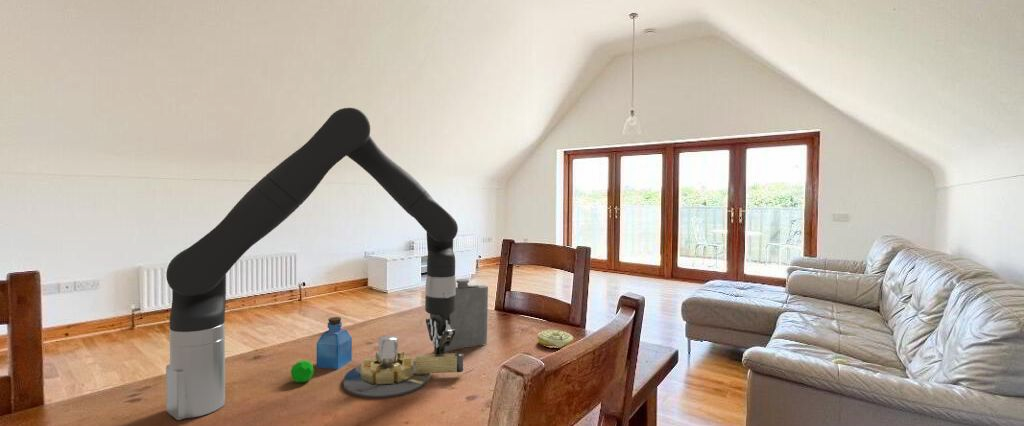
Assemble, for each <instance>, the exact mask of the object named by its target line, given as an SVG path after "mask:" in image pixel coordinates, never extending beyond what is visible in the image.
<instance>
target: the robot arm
mask: <svg viewBox="0 0 1024 426" xmlns="http://www.w3.org/2000/svg"><path fill="white" fill-rule="evenodd" d="M370 134H371V124H370V121H369V118H368V116H367V115H366V114H365V112H363V111H362V110H360V109H358V108H354V107H344V108H339V109H337V110H336V111H334V112H333V113H332V114H331V115H330V116H329V117H328V118H327V120H325V122H324V123H323V125H322V126H321V127H319V129H318V130H317V131H316V132H315V133H314V134H313V135H312V136H311V138H310V139H308V141H306V143H305V144H304V145H302V146H301V147H300V148H298V149H297V150H295V151H294V152H293V153H292V154H291V155H289V156H288V157H286V158H285V159H284V160H282V161H281V162H280V163H279V164H278V165H276V166H275V167H274V168H272V170H271V171H268V173H266V174H265V175H264V176H263V177H262V178H261V179H260V180H259V181H258V182H257V183H255V184H254V185H253V186H252V187H251V188H250V189H249V190H248V192H246V193H245V194H244V195H243V196H242V197H241V198H240V199H239V201H237V202H236V204H235V205H234V206H233V207H232V208H231V210H230V211H229V212H228V213H227V215H225V217H224V218H223V219H222V220H221V221H220V223H218V224H217V225H216V226H215V227H214V228H213V229H211V230H210V231H209V232H208V233H207V234H205V235H204V236H203V237H201V238H200V239H198V240H197V241H195V243H193V244H192V245H190V246H189V247H187V248H186V249H184V250H182V251H180V252H179V253H177V254H176V255H175V256H174V257H173V258H172V259H171V260H170V262H169V263H168V266H167V268H166V273H165V274H166V277H165V278H166V282H167V283H168V284H167V285H168V286H169V288H170V289H171V291H172V292H171V295H172V298H171V308H170V315H169V363H168V364H167V365H166V366H165V396H166V398H165V401H166V403H165V406H166V410H165V411H166V412H165V413H168V414H169V415H170V416H171V417H173V418H174V419H175V420H177V421H181V420H184V419H190V418H196V417H197V418H198V417H202V416H204V415H205V416H206V415H207V414H212V413H213V412H216V411H218V410H219V409H221V408H222V407H223V406H224V405H225V403H226V353H225V352H226V347H225V346H226V344H225V343H226V341H225V340H226V335H225V334H226V323H225V321H226V317H225V316H226V315H225V314H226V302H227V301H226V297H227V295H226V292H227V287H226V286H227V276H226V275H227V273H229V271H230V270H231V268H233V266H235V264H236V263H237V262H238V261H239V259H241V257H242V256H244V254H245V253H246V252H247V251H248V250H249V249H251V247H253V245H255V244H257V243H258V242H260V240H262V239H264V237H266V236H267V235H268V234H270V233H271V232H272V231H274V230H275V229H276V228H277V227H278V226H279V225H280V224H282V223H283V222H284V221H285V220H287V219H288V218H289V217H290V216H291V215H292V214H293V213H294V212H295V211H296V210H298V209H299V207H300V206H301V205H302V204H303V203H304V202H305V201H306V200H307V199H308V198H310V196H311V194H312V193H313V192H314V191H315V190H316V188H318V186H319V184H320V183H321V182H322V181H323V179H324V178H325V177H326V175H327V174H328V172H329V171H330V170H331V169H332V168H333V167H334V166H336V164H337V163H339V162H340V161H342V159H344V158H345V157H348V158H349V159H350V160H351V161H353V162H355V163H356V165H358V166H360V168H362V169H363V170H364V171H365V172H366V173H368V175H369V176H371V177H372V178H373V179H374V180H375V181H376V182H377V183H378V184H379V185H380V186H381V187H382V189H383V190H385V191H386V192H387V194H388V195H389V196H390V197H391V198H392V199H393V200H394V201H395V202H396V203H397V204H398V205H399V206H400V207H401V208H402V209H403V210H404V211H405V212H406V213H407V214H408V215H410V216H411V217H412V218H414V219H415V220H416V222H418V224H420V226H421V228H423V229H424V231H425V232H426V246H427V260H426V278H425V279H426V280H425V298H424V299H425V301H424V309H425V312H426V313H427V314H429V318H425V324H426V328H427V331H428V337H429V340H430V342H432V345H433V346H434V349H433V354H446V352H445V346H449V345H450V343H451V341H452V339H453V337H454V335H455V329H452V330H451V327H450V324H451V320H450V314H451V313H453V312H454V311H455V302H456V287H457V284H456V283H457V279H456V256H455V253H454V239H455V238H456V236H457V235H458V232H459V231H458V230H459V227H458V223H457V221H456V220H455V218H454V217H453V216H452V215H451V213H449V212H448V211H447V210H446V209H444V208H443V207H442V205H440V204H439V203H438V202H437V201H436V200H434V198H433V196H431V194H429V192H428V191H427V190H426V189H425V188H424V187H423V185H421V183H420V182H418V180H417V179H415V178H414V177H413V175H411V174H410V173H409V172H408V171H406V170H405V169H404V168H402V167H401V165H398V164H397V163H396V162H395V161H394V160H393V159H391V158H390V157H389V156H388V155H386V153H385V152H383V150H382V149H381V148H380V147H379V146H378V145H377V143H376V142H375V141H374V140H373V138H372V136H371V135H370Z"/></svg>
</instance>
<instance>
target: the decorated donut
mask: <svg viewBox="0 0 1024 426" xmlns="http://www.w3.org/2000/svg"><path fill="white" fill-rule="evenodd" d="M537 341H538V343H539V345H541V344H542V345H545V346H556V347H558V348H559V349H558V350H562V349H561V348H563V347H565V346H567V345H569V344H571V343H573V344H574V342H573V341H574V336H573V335H572V334H570V333H569V332H567V331H564V330H559V329H545V330H542V331H540V332H539V333H538V334H537ZM542 345H541V346H542Z"/></svg>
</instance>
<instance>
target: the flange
mask: <svg viewBox="0 0 1024 426" xmlns="http://www.w3.org/2000/svg"><path fill="white" fill-rule="evenodd" d="M398 340H399V338H398V336H397V335H394V334H386V335H382V336H380V337H378V352H379V364H381V369H392V364H394V363H397V353H398V351H399V349H398V344H399V343H398ZM361 366H362V364H361V365H358V366H356V367H354V368H352V369H350V370H349V371H348V372H347V373H345V375H344V377H343V388H344V390H345V391H346V392H348V393H349V394H351V395H353V396H356V397H360V398H366V399H390V398H396V397H403V396H406V395H409V394H412V393H415V392H416V391H419V390H421V389H422V388H424V387H425V386H427V384H428V383H429V381H430V379H431V373H426V374H415V360H414V371H413V376H411V377H410V378H408V379H405V380H403V381H401V382H398V383H397V382H395V381H394V384H376V383H373V384H371V383H369V382H367V381H364V380H362V378H361Z"/></svg>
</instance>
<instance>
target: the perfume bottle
mask: <svg viewBox="0 0 1024 426" xmlns="http://www.w3.org/2000/svg"><path fill="white" fill-rule="evenodd" d="M341 320H342V317H340V316H333V317H329V318H328V319H327V321H328V323H327V328H328V330H325V331H324V332H322V334H321V336H320V337H319V338H318V341H317V342H316V368H325V369H332V370H340V369H341V368H342V367H344V366H345V365H347V364H349V363H351V362H352V361H353V360H352V359H353V358H352V356H353V350H352V349H353V347H352V345H353V343H352V342H353V339H352V336H351V334H350V333H349V332H348V331H347V329H344V328H343V327H342V326H343V325H342V324H343V323H342V321H341ZM342 328H343V329H342Z"/></svg>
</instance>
